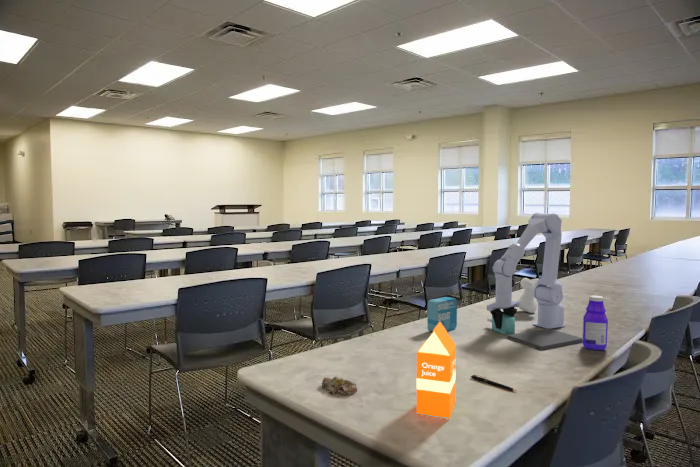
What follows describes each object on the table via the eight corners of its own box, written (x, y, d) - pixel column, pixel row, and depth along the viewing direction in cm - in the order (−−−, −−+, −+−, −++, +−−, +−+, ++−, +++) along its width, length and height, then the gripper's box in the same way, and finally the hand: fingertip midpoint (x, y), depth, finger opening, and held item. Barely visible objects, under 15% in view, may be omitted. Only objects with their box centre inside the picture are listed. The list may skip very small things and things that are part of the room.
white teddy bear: (530, 309, 212) (531, 276, 211) (548, 314, 202) (549, 280, 201) (512, 310, 209) (513, 277, 208) (529, 316, 198) (530, 281, 198)
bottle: (605, 346, 157) (606, 295, 156) (608, 352, 151) (610, 298, 150) (581, 344, 159) (582, 294, 158) (583, 349, 154) (584, 297, 153)
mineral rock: (365, 380, 123) (347, 381, 117) (363, 397, 122) (345, 399, 116) (333, 373, 130) (315, 373, 123) (331, 389, 129) (312, 391, 123)
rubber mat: (547, 331, 176) (548, 328, 176) (583, 341, 162) (583, 338, 162) (507, 338, 167) (507, 335, 167) (541, 350, 154) (541, 346, 154)
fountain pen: (519, 393, 120) (520, 387, 120) (517, 394, 119) (517, 388, 119) (471, 378, 131) (471, 372, 130) (469, 379, 130) (469, 373, 130)
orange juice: (415, 414, 108) (416, 328, 107) (424, 399, 116) (424, 319, 115) (450, 419, 105) (451, 332, 104) (456, 404, 113) (456, 322, 112)
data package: (436, 334, 173) (436, 302, 172) (427, 331, 177) (427, 300, 176) (457, 328, 181) (457, 297, 180) (447, 326, 184) (447, 296, 183)
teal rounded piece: (493, 326, 184) (493, 311, 183) (517, 334, 173) (517, 318, 172) (485, 327, 182) (485, 312, 182) (508, 335, 171) (509, 319, 170)
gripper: (510, 288, 182) (509, 323, 183) (481, 291, 176) (480, 327, 177) (524, 291, 176) (523, 327, 176) (494, 295, 169) (494, 332, 170)
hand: (503, 327), depth 176 cm, fingers closed on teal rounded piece, 4 cm apart
